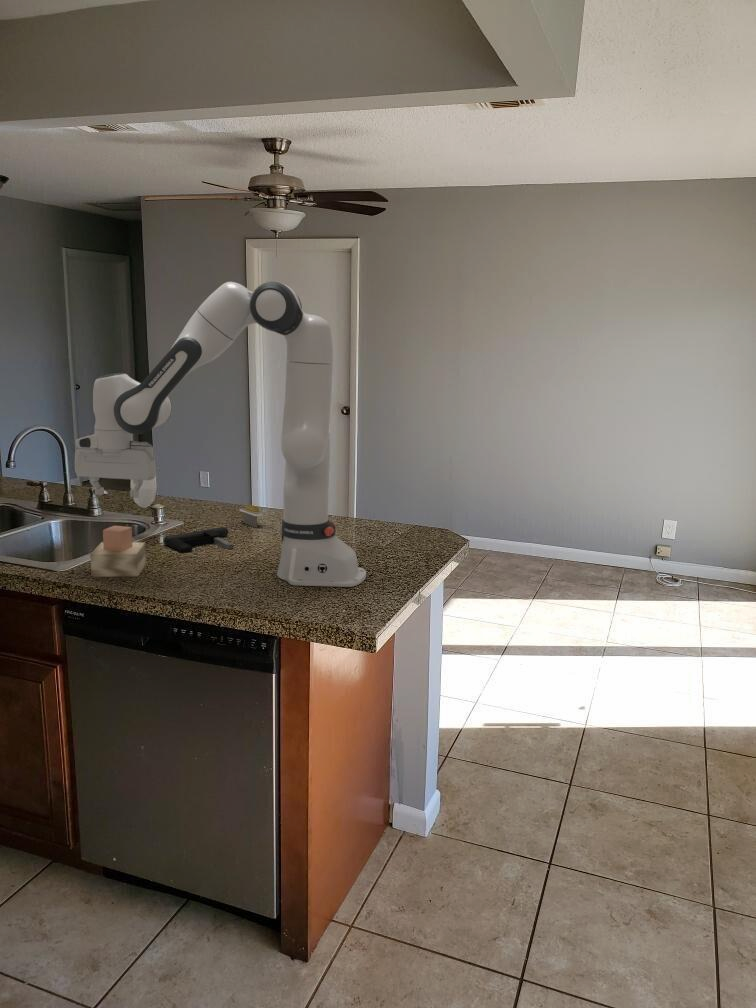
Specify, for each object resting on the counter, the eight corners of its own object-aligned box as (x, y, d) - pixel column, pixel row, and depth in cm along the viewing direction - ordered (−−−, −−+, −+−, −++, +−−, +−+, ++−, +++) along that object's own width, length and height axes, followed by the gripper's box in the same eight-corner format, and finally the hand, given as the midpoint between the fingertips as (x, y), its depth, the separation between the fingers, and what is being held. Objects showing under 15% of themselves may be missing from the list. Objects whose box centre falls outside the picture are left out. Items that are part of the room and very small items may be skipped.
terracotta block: (132, 546, 199) (131, 527, 197) (121, 551, 194) (120, 531, 193) (114, 544, 200) (114, 525, 199) (103, 549, 195) (102, 530, 194)
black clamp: (251, 538, 224) (221, 524, 235) (188, 549, 211) (159, 534, 222) (250, 549, 225) (221, 535, 236) (188, 561, 212) (160, 545, 223)
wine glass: (150, 541, 225) (148, 470, 221) (127, 539, 226) (125, 468, 222) (162, 535, 232) (160, 466, 228) (140, 533, 233) (137, 465, 229)
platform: (253, 518, 259) (253, 499, 258) (284, 529, 246) (284, 509, 244) (221, 523, 251) (221, 503, 250) (251, 534, 238) (251, 513, 237)
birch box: (146, 564, 204) (145, 542, 203) (137, 577, 193) (136, 554, 192) (102, 564, 203) (101, 542, 201) (91, 577, 192) (90, 553, 191)
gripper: (159, 440, 192) (161, 496, 195) (83, 437, 196) (86, 491, 199) (147, 443, 186) (149, 500, 189) (69, 440, 190) (72, 496, 193)
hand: (117, 496), depth 194 cm, fingers open, 8 cm apart
